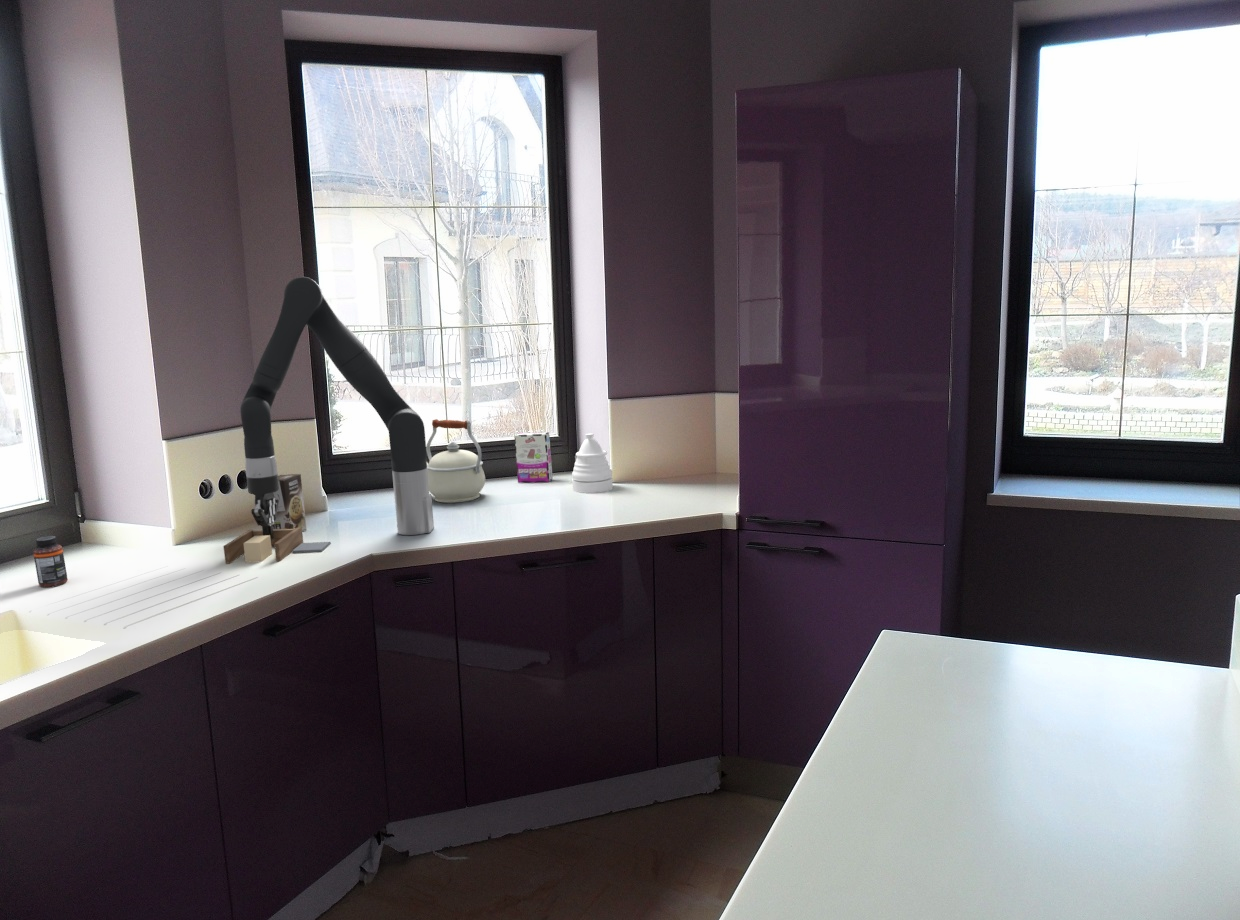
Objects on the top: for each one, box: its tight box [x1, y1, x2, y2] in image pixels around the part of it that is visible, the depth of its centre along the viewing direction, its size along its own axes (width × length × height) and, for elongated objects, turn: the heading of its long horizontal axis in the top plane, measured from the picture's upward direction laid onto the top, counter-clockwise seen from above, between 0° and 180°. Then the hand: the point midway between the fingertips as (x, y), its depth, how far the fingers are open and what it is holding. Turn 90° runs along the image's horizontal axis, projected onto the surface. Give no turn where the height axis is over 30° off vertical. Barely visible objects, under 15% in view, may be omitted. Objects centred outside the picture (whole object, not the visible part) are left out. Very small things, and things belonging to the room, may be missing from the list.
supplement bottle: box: [33, 535, 68, 588], centre depth 219 cm, size 6×6×11 cm
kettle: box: [426, 418, 486, 504], centre depth 293 cm, size 25×18×25 cm
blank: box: [243, 535, 273, 563], centre depth 234 cm, size 4×7×5 cm, turn 0°
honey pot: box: [571, 433, 614, 494], centre depth 297 cm, size 13×13×18 cm
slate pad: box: [291, 541, 332, 554], centre depth 241 cm, size 8×8×1 cm
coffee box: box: [272, 473, 308, 533], centre depth 257 cm, size 9×6×16 cm
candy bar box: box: [514, 431, 553, 484], centre depth 314 cm, size 11×5×16 cm, turn 81°
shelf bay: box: [223, 528, 304, 565], centre depth 239 cm, size 14×17×4 cm
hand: (268, 539), depth 242 cm, fingers closed
